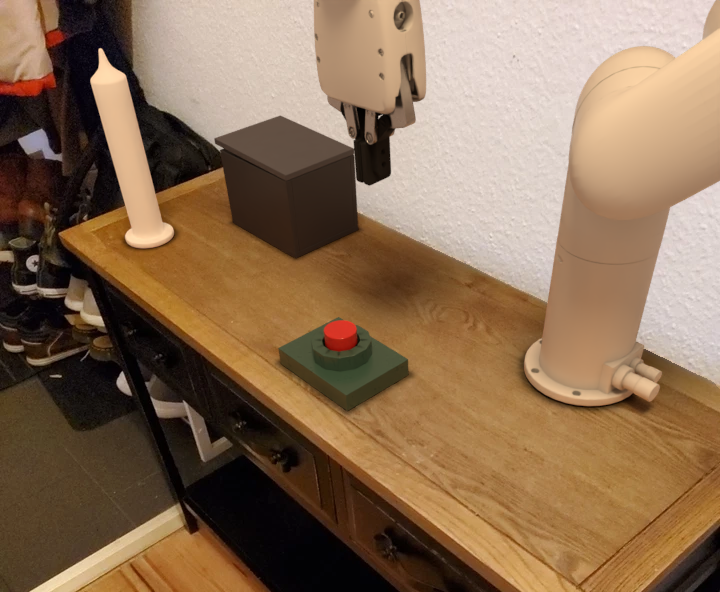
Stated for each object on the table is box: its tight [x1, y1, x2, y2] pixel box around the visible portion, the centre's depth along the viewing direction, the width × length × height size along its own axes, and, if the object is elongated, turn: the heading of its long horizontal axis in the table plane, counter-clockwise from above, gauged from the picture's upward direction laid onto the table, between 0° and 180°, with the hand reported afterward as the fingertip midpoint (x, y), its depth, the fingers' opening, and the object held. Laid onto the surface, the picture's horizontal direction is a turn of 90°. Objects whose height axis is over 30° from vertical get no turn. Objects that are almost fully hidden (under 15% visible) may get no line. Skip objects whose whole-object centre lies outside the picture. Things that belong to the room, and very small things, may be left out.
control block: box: [277, 316, 409, 412], centre depth 83 cm, size 12×9×4 cm
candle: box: [89, 47, 175, 249], centre depth 101 cm, size 7×7×25 cm
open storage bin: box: [219, 148, 359, 259], centre depth 106 cm, size 16×12×11 cm
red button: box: [324, 319, 357, 352], centre depth 81 cm, size 4×4×2 cm
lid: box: [214, 115, 355, 181], centre depth 102 cm, size 17×12×1 cm
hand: (374, 178), depth 73 cm, fingers closed
